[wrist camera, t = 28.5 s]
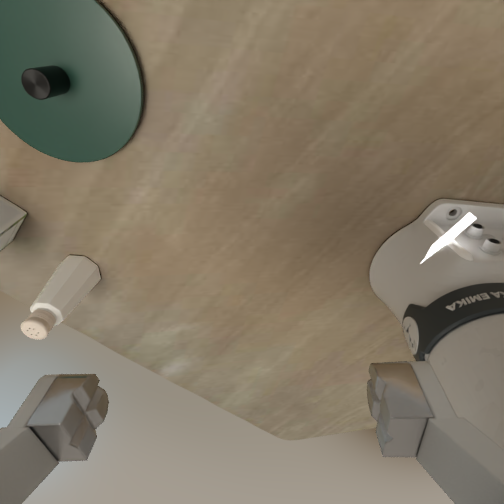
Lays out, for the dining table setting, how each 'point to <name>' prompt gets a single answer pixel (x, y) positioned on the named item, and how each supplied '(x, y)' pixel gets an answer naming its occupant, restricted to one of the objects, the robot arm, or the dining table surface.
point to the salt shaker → (61, 295)
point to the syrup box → (9, 221)
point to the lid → (68, 78)
